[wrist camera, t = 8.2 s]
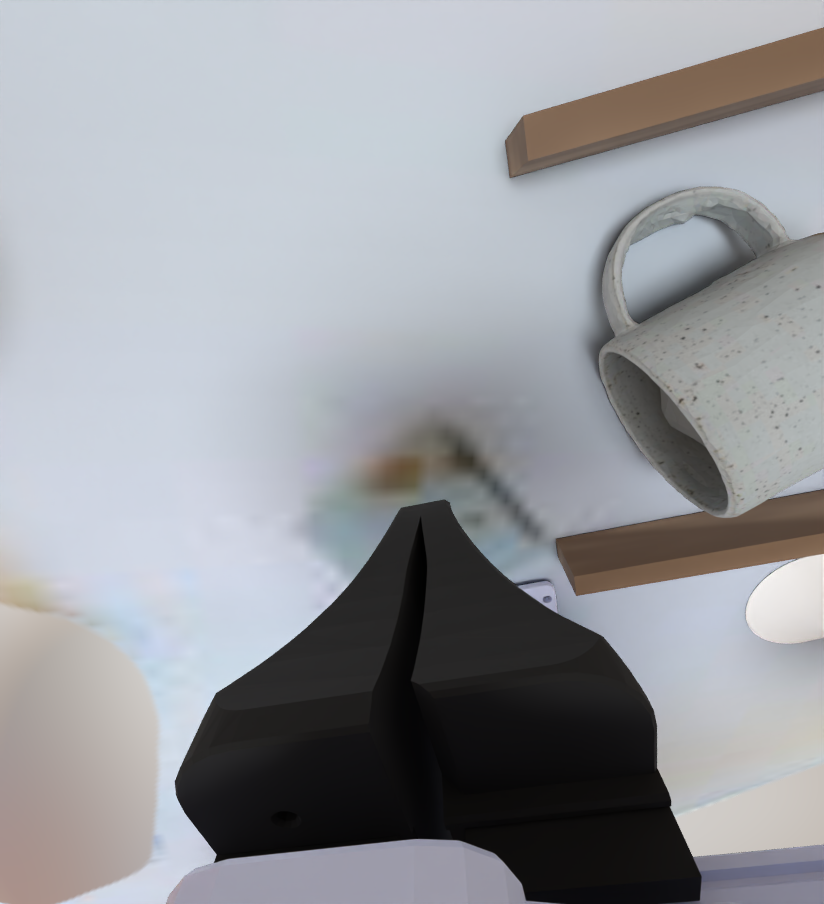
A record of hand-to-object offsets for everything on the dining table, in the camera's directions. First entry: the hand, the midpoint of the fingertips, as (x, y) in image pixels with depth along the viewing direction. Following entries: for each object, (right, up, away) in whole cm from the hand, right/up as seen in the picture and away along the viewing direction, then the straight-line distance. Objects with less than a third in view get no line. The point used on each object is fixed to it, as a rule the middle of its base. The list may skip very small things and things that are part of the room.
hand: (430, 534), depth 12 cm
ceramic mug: (+11, +7, +7) cm, 15 cm away
